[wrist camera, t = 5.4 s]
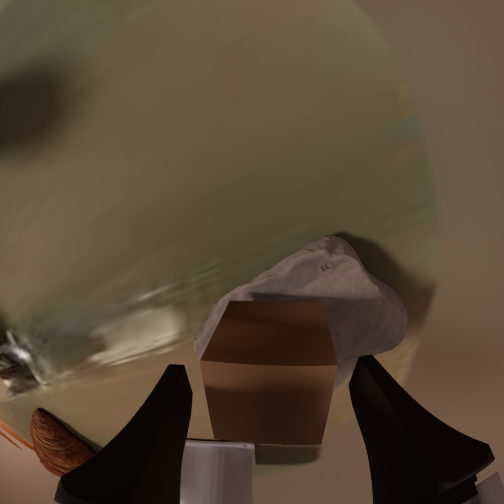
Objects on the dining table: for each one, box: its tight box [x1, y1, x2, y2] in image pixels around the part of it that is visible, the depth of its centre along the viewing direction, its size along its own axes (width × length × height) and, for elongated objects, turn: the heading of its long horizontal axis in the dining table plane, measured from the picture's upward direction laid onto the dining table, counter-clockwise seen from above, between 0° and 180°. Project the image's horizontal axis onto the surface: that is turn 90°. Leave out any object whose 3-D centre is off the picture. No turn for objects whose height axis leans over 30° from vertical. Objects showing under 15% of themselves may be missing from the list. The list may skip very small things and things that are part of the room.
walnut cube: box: [200, 300, 337, 445], centre depth 11 cm, size 4×4×5 cm
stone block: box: [194, 235, 408, 391], centre depth 17 cm, size 12×5×10 cm
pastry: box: [30, 408, 96, 477], centre depth 27 cm, size 17×15×8 cm
